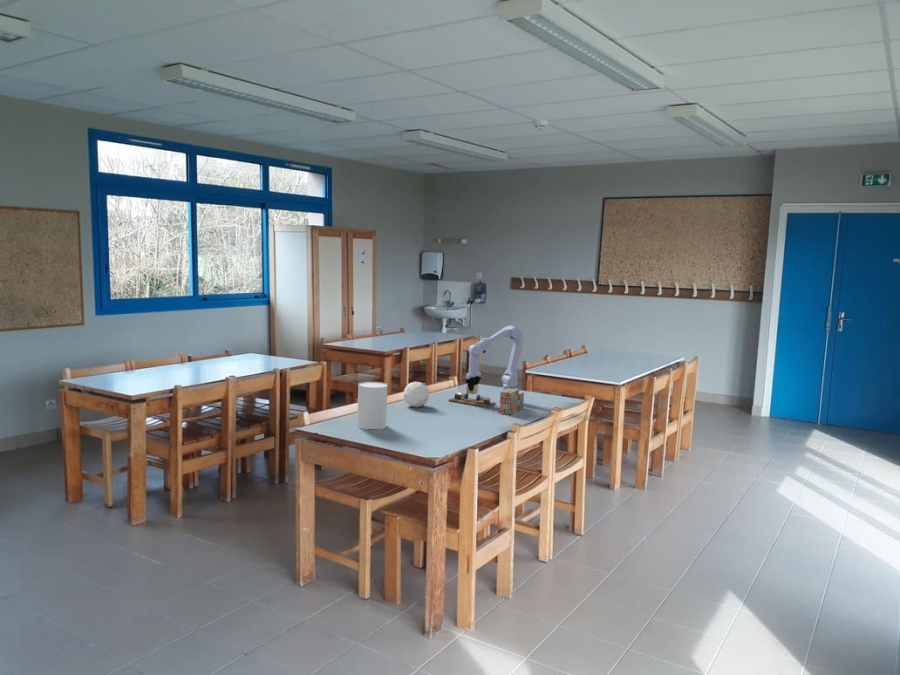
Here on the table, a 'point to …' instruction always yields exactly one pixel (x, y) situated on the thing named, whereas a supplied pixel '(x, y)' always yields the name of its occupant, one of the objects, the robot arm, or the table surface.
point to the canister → (372, 405)
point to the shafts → (476, 397)
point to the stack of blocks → (511, 400)
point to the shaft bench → (472, 402)
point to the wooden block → (475, 389)
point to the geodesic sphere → (416, 394)
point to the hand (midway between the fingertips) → (472, 389)
